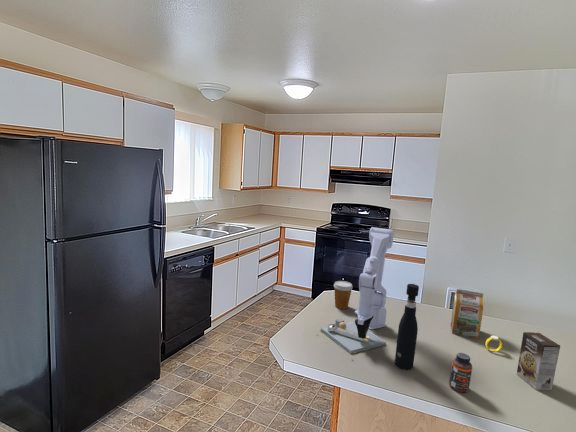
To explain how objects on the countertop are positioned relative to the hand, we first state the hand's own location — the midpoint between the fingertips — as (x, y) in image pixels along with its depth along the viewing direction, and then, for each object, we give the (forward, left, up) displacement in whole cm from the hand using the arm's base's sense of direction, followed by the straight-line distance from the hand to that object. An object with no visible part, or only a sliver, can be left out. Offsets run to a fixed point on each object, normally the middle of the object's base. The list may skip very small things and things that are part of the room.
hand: (362, 334), depth 141 cm
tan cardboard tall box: (-51, +10, -3) cm, 52 cm away
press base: (+1, -5, -3) cm, 6 cm away
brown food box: (-38, +45, -3) cm, 59 cm away
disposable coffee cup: (-15, -33, -3) cm, 36 cm away
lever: (+4, -5, -1) cm, 7 cm away
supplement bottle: (-10, +36, -3) cm, 38 cm away
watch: (-46, +26, -3) cm, 53 cm away
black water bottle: (-3, +19, -3) cm, 20 cm away
